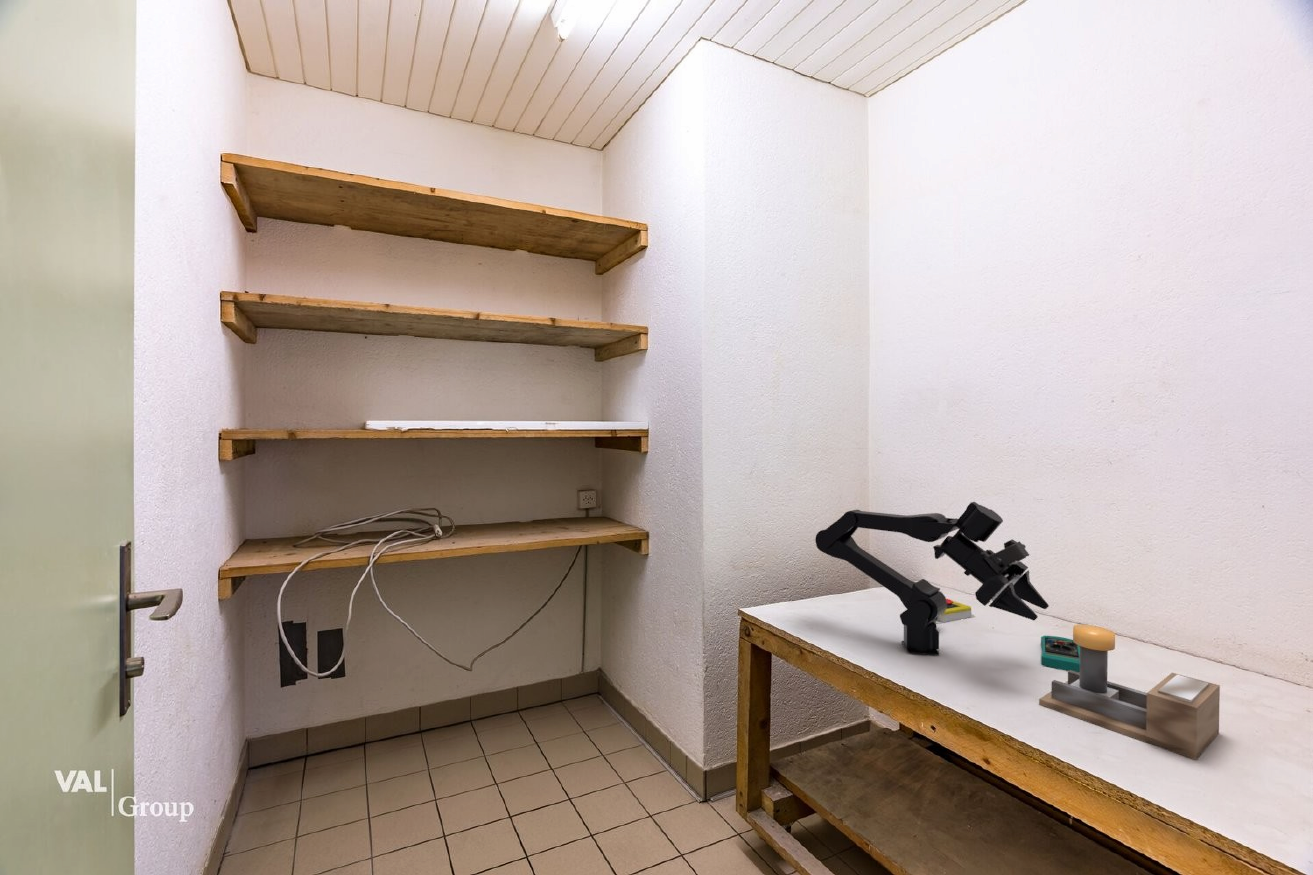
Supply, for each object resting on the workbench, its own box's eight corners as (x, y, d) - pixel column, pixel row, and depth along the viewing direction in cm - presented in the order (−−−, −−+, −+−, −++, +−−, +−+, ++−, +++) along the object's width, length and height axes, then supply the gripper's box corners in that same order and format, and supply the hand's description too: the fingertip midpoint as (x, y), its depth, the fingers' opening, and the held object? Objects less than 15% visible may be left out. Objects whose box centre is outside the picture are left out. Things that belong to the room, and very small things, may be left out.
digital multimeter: (1079, 651, 130) (1079, 638, 130) (1084, 675, 118) (1084, 661, 118) (1040, 645, 134) (1040, 632, 134) (1041, 667, 122) (1041, 653, 122)
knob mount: (1039, 704, 105) (1039, 658, 105) (1068, 685, 113) (1069, 642, 112) (1196, 760, 88) (1197, 705, 87) (1218, 733, 95) (1219, 682, 95)
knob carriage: (1066, 699, 105) (1067, 629, 104) (1080, 690, 108) (1080, 622, 108) (1106, 713, 100) (1107, 639, 99) (1119, 703, 103) (1120, 631, 103)
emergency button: (977, 602, 153) (935, 609, 147) (977, 618, 153) (935, 626, 147) (947, 592, 161) (906, 599, 156) (947, 608, 161) (906, 615, 156)
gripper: (982, 535, 113) (1060, 594, 104) (1008, 523, 126) (1079, 575, 117) (947, 576, 118) (1019, 635, 109) (976, 560, 131) (1042, 612, 122)
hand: (1041, 612), depth 114 cm, fingers open, 9 cm apart
